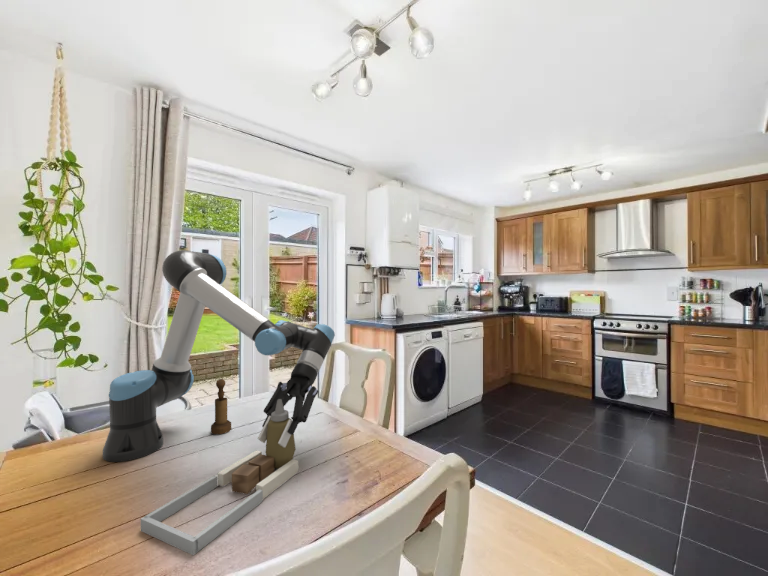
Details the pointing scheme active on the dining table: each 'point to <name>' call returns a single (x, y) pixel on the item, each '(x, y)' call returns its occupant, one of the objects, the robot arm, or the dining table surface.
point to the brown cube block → (245, 479)
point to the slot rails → (269, 482)
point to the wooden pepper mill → (220, 411)
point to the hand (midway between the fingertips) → (271, 442)
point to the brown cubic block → (263, 465)
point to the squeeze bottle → (274, 434)
